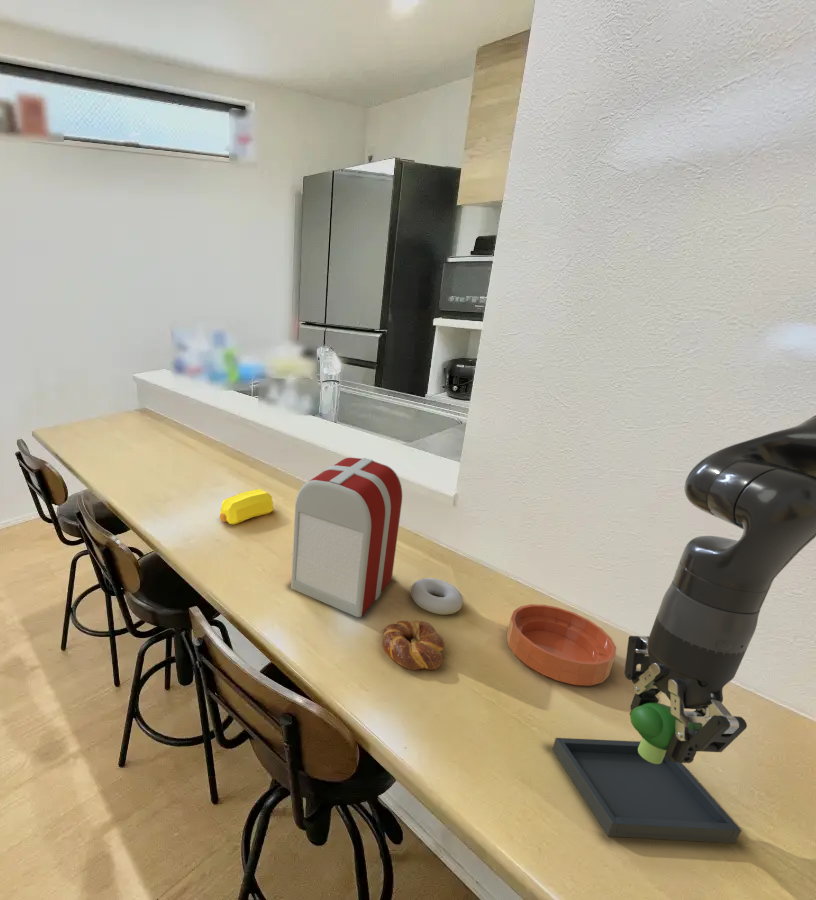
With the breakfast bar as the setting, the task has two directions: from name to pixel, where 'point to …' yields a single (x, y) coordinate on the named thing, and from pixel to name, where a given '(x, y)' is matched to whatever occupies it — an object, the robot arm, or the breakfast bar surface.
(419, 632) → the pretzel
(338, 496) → the red grey arched block
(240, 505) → the yellow faceted capsule
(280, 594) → the breakfast bar surface
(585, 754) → the tray
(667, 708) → the broccoli
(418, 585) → the donut
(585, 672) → the bowl
